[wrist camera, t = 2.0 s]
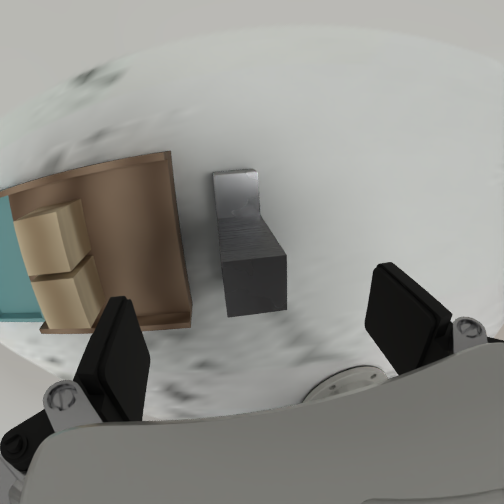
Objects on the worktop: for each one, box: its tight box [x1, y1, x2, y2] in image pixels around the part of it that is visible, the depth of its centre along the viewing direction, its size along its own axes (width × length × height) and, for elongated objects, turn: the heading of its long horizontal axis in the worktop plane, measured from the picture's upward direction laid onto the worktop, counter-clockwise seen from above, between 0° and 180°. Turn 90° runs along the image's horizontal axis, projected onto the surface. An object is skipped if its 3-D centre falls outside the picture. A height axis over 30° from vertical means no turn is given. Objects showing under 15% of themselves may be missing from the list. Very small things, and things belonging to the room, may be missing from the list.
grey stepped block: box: [213, 169, 287, 317], centre depth 18 cm, size 3×9×10 cm, turn 4°
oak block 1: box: [13, 199, 91, 276], centre depth 17 cm, size 4×4×4 cm
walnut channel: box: [0, 151, 192, 334], centre depth 20 cm, size 14×13×4 cm
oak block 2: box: [31, 255, 106, 329], centre depth 19 cm, size 4×4×4 cm
